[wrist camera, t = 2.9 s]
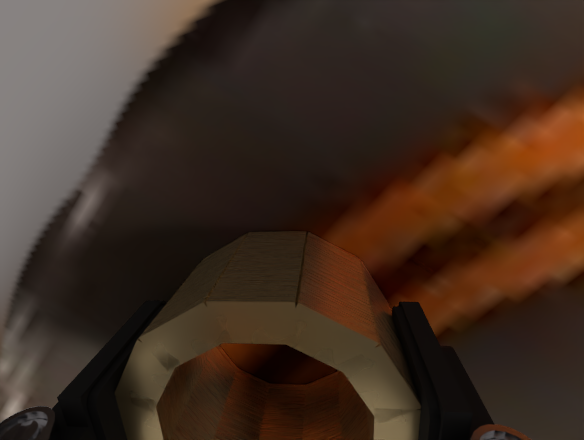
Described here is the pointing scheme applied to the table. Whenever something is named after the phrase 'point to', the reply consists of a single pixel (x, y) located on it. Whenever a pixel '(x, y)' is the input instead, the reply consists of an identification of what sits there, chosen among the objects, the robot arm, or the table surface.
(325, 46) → the table surface
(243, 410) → the brass ring
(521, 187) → the table surface
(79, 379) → the robot arm
